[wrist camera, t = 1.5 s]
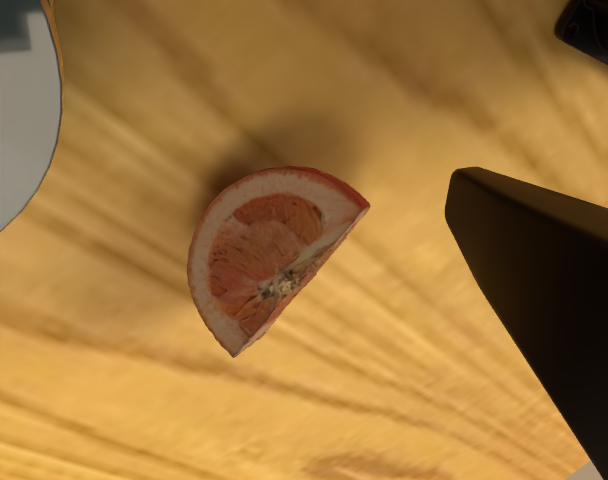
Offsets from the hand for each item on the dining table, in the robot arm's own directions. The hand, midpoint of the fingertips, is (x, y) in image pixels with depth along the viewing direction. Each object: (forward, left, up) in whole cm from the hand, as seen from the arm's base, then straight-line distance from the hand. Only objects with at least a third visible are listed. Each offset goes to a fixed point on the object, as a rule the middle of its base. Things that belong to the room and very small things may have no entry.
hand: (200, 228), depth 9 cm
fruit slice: (-7, +7, -13) cm, 16 cm away
